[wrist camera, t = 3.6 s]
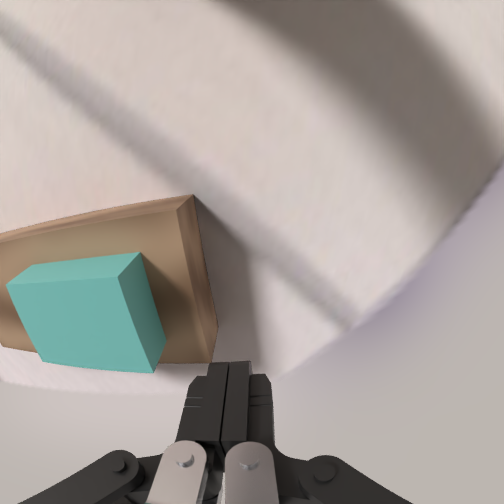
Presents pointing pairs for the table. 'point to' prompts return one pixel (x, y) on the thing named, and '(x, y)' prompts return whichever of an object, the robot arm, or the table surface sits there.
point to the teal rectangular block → (91, 313)
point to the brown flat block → (122, 242)
